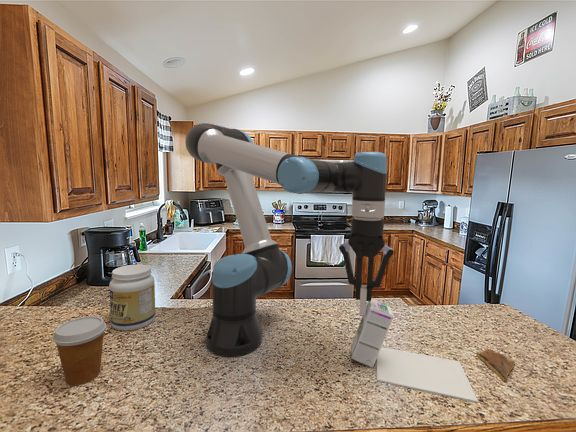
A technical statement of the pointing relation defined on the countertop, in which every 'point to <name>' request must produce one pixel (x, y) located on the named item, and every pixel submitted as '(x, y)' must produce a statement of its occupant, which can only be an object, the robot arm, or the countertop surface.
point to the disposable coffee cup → (80, 348)
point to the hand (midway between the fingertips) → (362, 312)
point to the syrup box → (371, 332)
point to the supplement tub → (132, 297)
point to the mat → (424, 373)
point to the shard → (497, 362)
